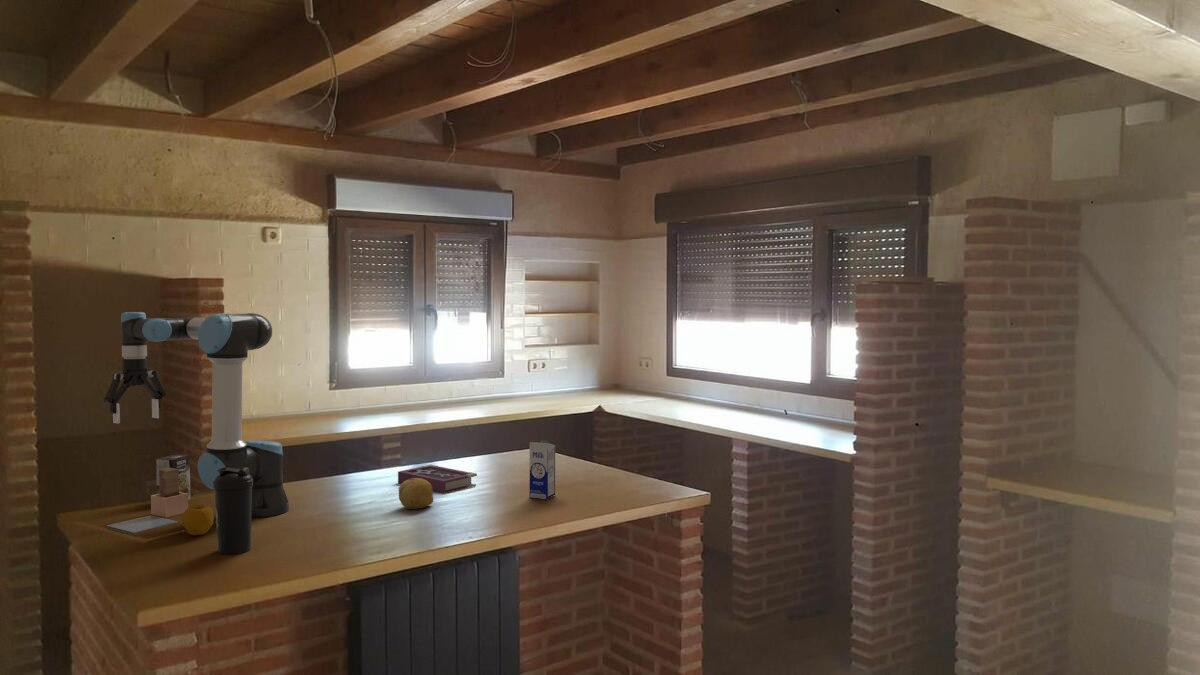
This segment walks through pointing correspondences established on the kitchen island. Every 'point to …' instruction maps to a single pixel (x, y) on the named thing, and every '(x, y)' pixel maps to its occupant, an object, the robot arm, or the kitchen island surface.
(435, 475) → the book
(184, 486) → the coffee box
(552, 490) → the milk carton
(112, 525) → the tile
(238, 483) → the water bottle
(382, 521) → the kitchen island surface
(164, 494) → the peg
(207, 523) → the apple
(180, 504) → the box with hole
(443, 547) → the kitchen island surface
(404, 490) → the potato
